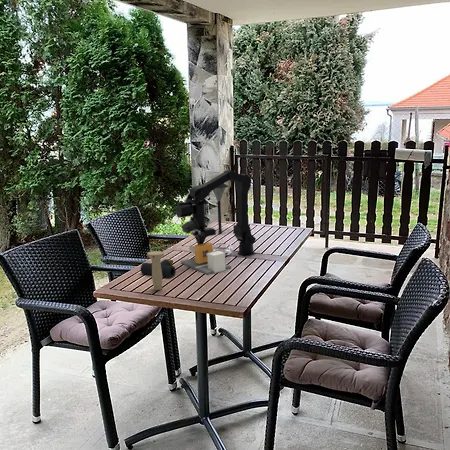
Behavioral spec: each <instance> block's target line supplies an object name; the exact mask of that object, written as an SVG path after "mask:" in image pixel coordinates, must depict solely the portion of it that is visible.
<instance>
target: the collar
mask: <svg viewBox="0 0 450 450" xmlns="http://www.w3.org/2000/svg"><path fill="white" fill-rule="evenodd" d="M213 245H214V244H213V242H204V243H203V244H199V245H198V244H196V245H194V246H193V247H194V248H195V252H194V258H195V262H196V263H198V264H200V263H204V262H208V257H206V256H205V255H203V251H206V252H209V253H211V252H214V247H213Z"/></svg>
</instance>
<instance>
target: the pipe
mask: <svg viewBox="0 0 450 450" xmlns="http://www.w3.org/2000/svg"><path fill="white" fill-rule="evenodd" d="M188 249H189V251H191V252H193V253H195V248H194V246H192V245H190V246H189V248H188ZM207 253H209V252H206V251H203V255H205V256H206V257H207Z"/></svg>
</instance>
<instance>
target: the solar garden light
mask: <svg viewBox="0 0 450 450" xmlns="http://www.w3.org/2000/svg"><path fill="white" fill-rule="evenodd" d="M229 187H230V186H229V185H227V184H226V183H224V184H222V185H220V186H219V187H217V188H216V189H214V190H212V193H213V195H214V196H215V198H216V200H217V220H218V221H217V223H218V234H219V235H222V233H223V231H222V230H223V229H222V207H221V206H222V205H221V201H222V198H223V196H224V192H225V190H226V188H229Z"/></svg>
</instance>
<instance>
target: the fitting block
mask: <svg viewBox="0 0 450 450" xmlns="http://www.w3.org/2000/svg"><path fill="white" fill-rule="evenodd" d="M207 257H208V269H211V270H213V271H214V273H213V274H217V273H220V272H223V271H226V268H225V264H226V253H225V252H224V251H220V250H216V251H213V252H211V253H207Z"/></svg>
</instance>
